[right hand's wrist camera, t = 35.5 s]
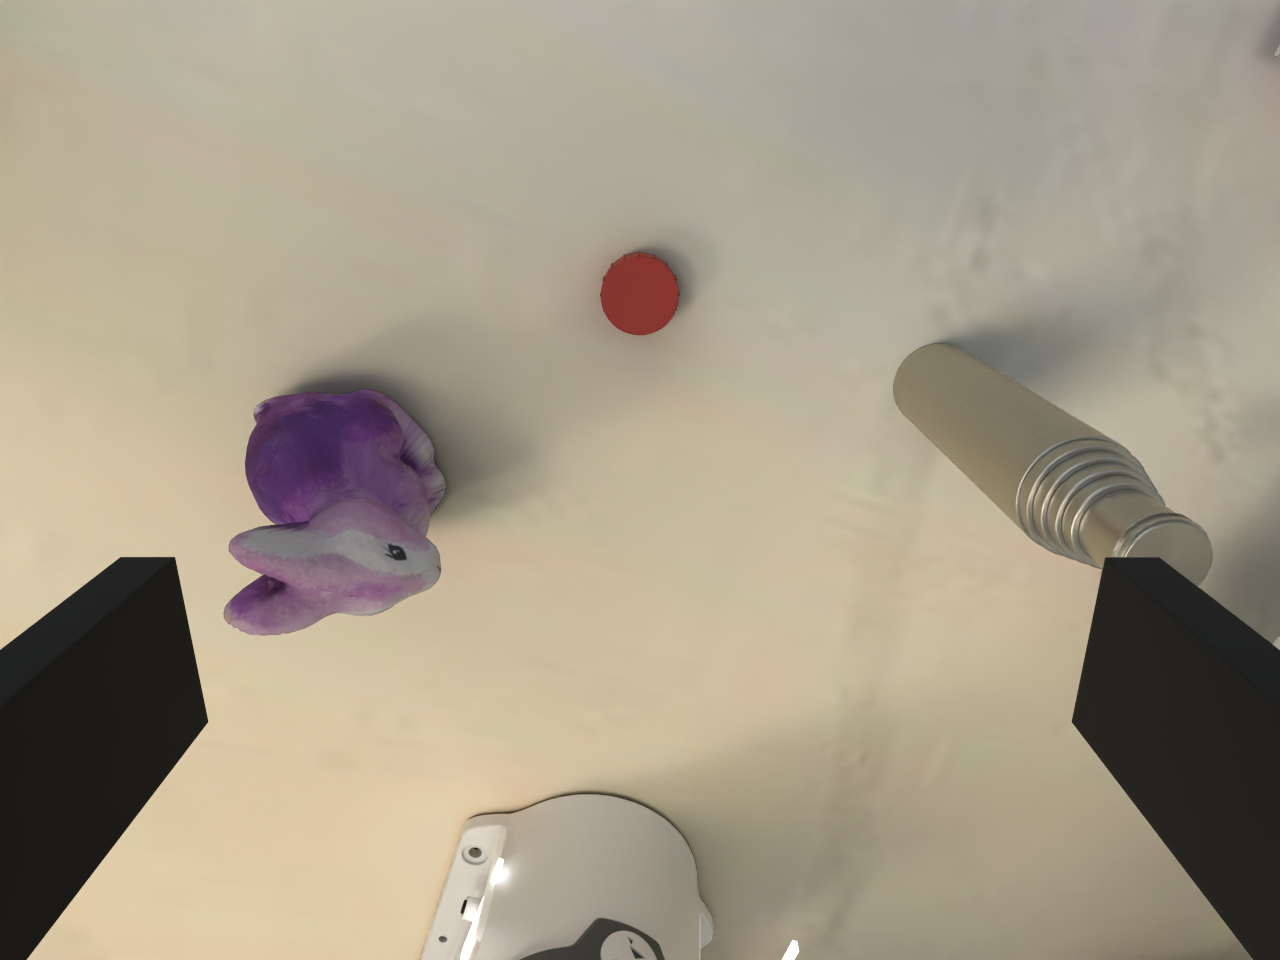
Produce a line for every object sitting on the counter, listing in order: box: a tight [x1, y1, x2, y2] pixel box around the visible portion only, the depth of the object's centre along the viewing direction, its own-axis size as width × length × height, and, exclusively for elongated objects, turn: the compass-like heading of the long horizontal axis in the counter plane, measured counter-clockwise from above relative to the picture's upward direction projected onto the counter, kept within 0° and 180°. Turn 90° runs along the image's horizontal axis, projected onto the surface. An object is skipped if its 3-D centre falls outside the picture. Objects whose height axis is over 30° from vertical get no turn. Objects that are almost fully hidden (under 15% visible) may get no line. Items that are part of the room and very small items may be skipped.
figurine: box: [224, 389, 446, 636], centre depth 42 cm, size 9×10×15 cm
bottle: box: [893, 343, 1212, 587], centre depth 37 cm, size 5×5×22 cm
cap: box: [600, 252, 680, 335], centre depth 45 cm, size 4×4×2 cm
